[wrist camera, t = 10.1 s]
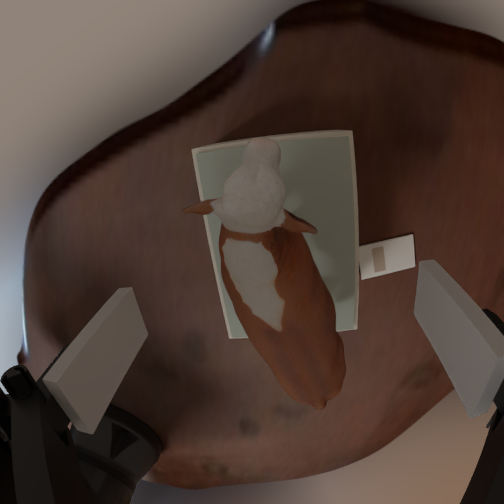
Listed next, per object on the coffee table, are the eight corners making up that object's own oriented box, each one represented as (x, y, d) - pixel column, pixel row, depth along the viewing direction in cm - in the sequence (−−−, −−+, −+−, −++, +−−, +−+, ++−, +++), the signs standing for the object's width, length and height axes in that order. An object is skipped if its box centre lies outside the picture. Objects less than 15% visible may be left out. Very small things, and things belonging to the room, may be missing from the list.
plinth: (240, 295, 27) (228, 341, 21) (214, 143, 22) (189, 149, 16) (344, 287, 26) (357, 331, 20) (335, 129, 21) (353, 130, 15)
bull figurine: (287, 127, 15) (290, 127, 8) (339, 331, 20) (357, 429, 12) (210, 151, 16) (149, 175, 9) (278, 345, 21) (271, 442, 13)
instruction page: (361, 278, 25) (362, 280, 25) (356, 246, 24) (357, 247, 24) (414, 265, 24) (415, 266, 24) (412, 233, 23) (413, 234, 23)
